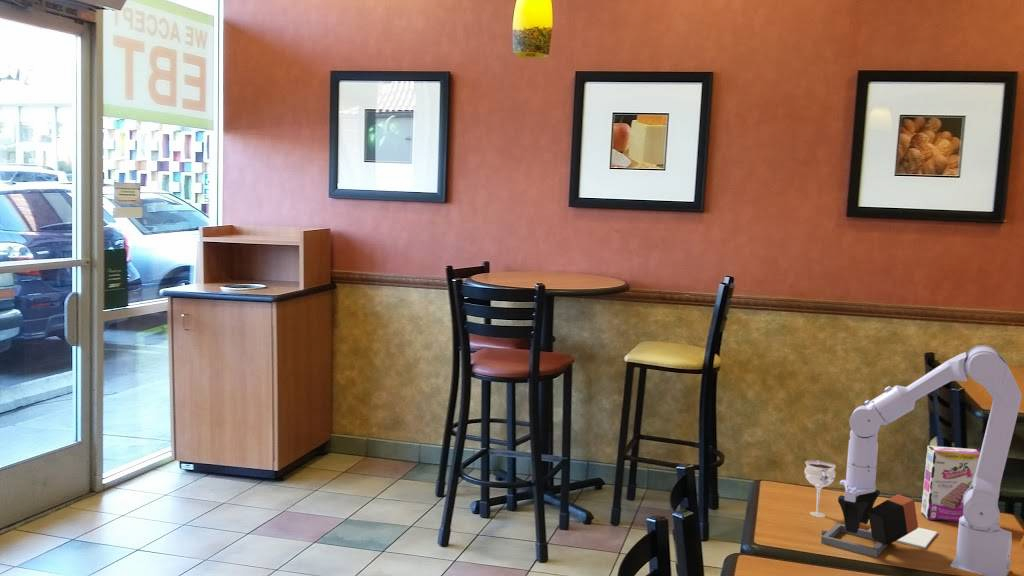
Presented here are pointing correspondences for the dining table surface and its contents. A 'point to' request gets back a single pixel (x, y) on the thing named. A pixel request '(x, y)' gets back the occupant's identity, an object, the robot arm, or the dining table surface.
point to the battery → (893, 519)
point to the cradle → (830, 540)
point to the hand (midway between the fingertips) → (856, 527)
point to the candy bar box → (947, 481)
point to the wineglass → (819, 477)
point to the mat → (917, 537)
